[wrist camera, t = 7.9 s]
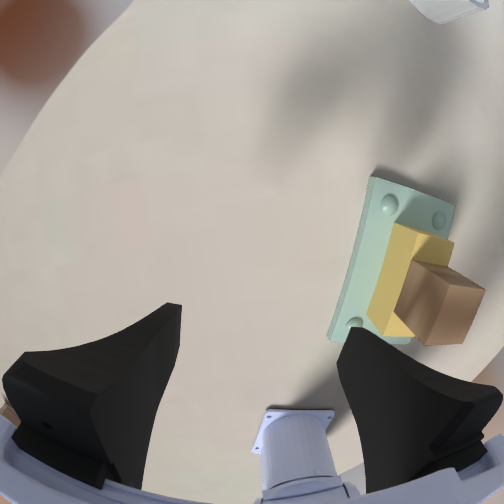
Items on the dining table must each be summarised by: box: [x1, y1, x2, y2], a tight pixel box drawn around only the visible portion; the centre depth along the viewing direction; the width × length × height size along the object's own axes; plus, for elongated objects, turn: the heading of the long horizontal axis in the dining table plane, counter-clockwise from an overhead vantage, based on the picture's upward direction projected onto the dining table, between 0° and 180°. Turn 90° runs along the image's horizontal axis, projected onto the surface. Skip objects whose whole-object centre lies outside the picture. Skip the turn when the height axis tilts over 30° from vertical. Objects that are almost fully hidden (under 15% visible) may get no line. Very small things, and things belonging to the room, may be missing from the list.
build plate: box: [327, 176, 455, 344], centre depth 21 cm, size 14×9×1 cm, turn 170°
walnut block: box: [393, 260, 485, 346], centre depth 15 cm, size 4×4×4 cm
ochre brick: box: [366, 223, 454, 337], centre depth 19 cm, size 8×4×4 cm, turn 170°
